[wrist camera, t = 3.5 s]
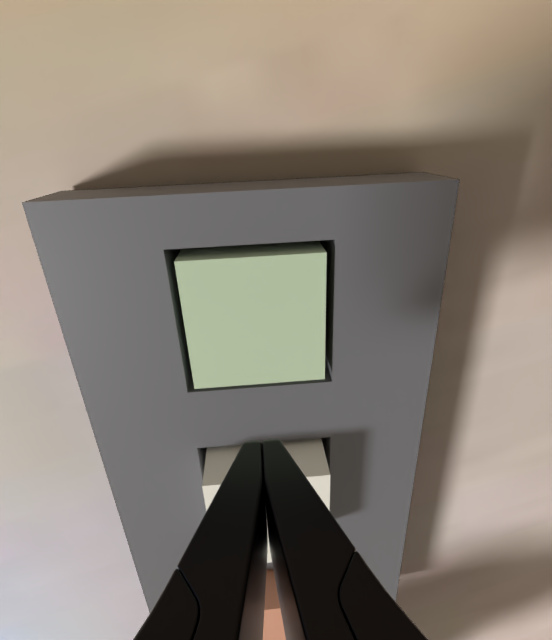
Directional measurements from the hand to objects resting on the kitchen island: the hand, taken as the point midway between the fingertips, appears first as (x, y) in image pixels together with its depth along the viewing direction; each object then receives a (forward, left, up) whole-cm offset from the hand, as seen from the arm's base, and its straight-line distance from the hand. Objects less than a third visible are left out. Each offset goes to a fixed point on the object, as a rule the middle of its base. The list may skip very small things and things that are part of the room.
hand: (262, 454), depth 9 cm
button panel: (-6, 0, -7) cm, 9 cm away
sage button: (+1, 0, -7) cm, 7 cm away
